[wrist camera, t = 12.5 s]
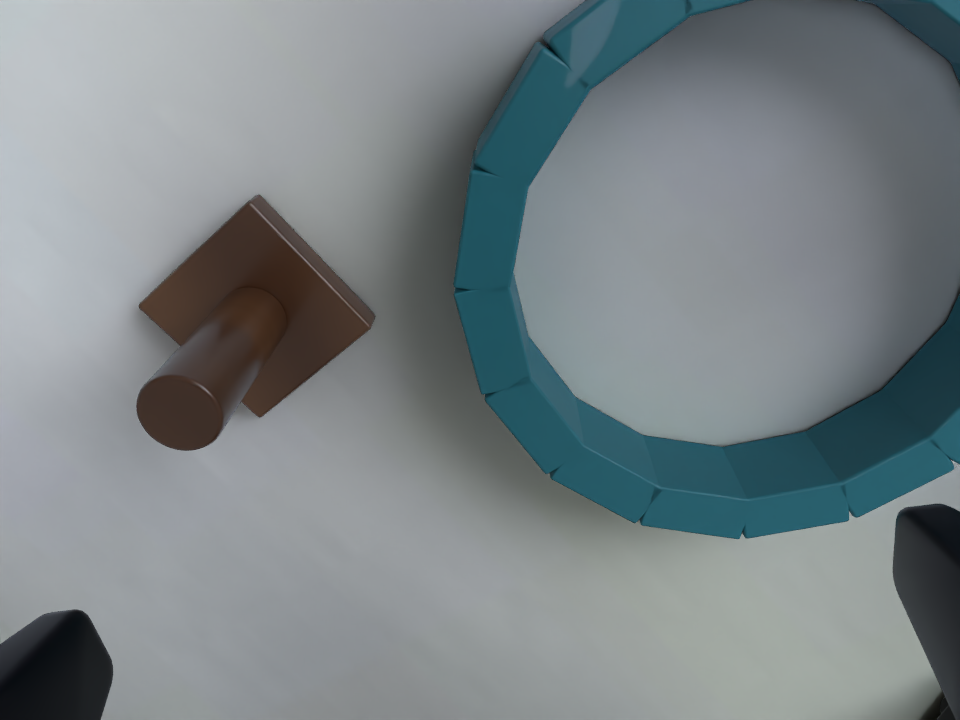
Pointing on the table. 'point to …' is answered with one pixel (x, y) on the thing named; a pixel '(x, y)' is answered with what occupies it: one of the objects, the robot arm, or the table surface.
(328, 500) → the table surface
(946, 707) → the figurine
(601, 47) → the ring
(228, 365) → the post
